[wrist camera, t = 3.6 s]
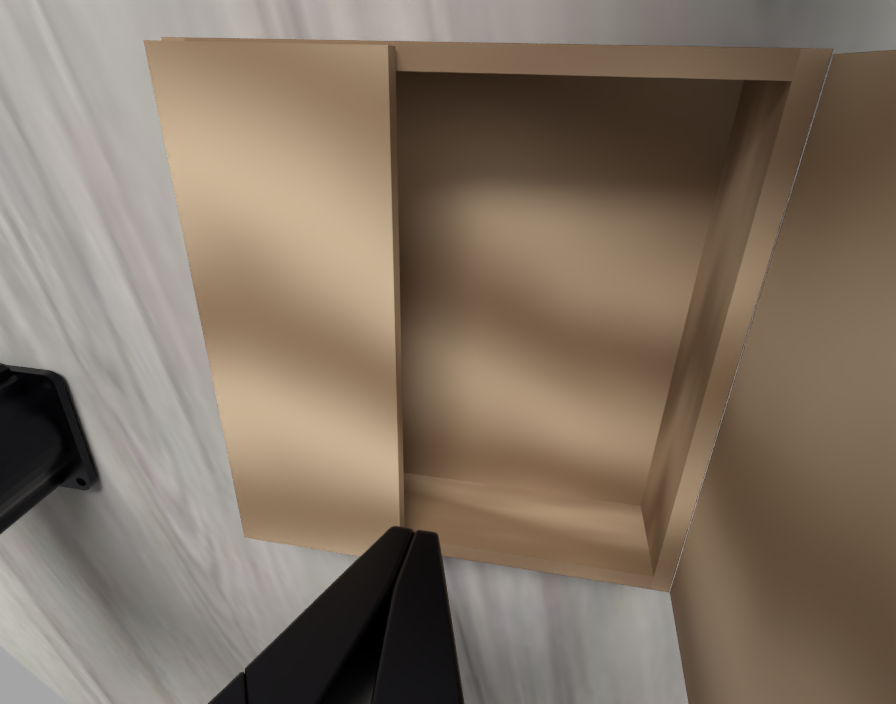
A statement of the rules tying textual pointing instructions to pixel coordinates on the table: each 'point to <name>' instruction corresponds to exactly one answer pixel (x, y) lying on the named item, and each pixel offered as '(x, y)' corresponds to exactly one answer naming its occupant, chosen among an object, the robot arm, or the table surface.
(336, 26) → the table surface
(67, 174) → the table surface
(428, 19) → the table surface
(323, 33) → the table surface
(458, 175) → the wooden box
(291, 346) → the flap
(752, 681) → the flap
